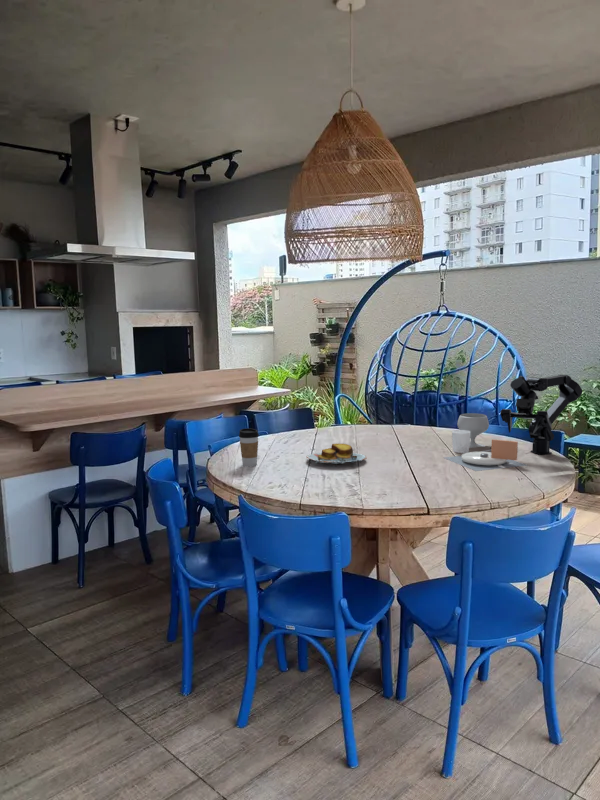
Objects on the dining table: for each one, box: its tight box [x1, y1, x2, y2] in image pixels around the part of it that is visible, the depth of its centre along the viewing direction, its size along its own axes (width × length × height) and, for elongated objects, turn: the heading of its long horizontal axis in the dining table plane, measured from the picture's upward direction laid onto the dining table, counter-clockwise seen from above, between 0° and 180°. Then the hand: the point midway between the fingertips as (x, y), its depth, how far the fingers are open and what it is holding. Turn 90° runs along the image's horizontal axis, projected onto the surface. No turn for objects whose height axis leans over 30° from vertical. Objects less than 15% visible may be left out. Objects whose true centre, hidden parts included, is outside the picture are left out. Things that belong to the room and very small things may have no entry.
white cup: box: [451, 429, 471, 454], centre depth 271 cm, size 8×8×10 cm
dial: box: [461, 438, 519, 465], centre depth 252 cm, size 18×19×9 cm
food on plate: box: [306, 443, 367, 465], centre depth 262 cm, size 25×25×7 cm
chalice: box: [456, 412, 490, 449], centre depth 283 cm, size 14×14×15 cm
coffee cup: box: [238, 427, 260, 468], centre depth 258 cm, size 8×8×15 cm
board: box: [443, 455, 528, 472], centre depth 253 cm, size 24×24×1 cm
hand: (520, 432), depth 254 cm, fingers open, 9 cm apart
